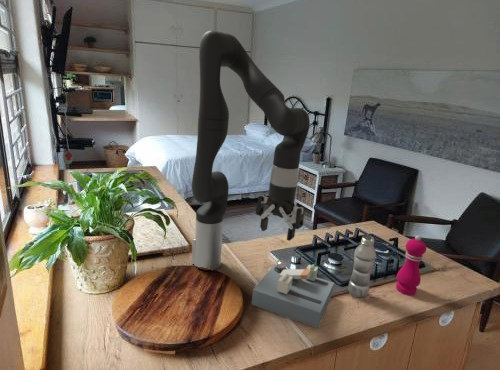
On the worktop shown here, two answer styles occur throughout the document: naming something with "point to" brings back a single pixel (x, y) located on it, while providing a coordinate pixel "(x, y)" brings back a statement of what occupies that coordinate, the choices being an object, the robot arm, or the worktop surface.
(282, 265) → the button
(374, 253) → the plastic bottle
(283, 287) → the slider knob
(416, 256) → the pepper mill
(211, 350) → the worktop surface
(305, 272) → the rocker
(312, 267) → the green slider
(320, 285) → the console
